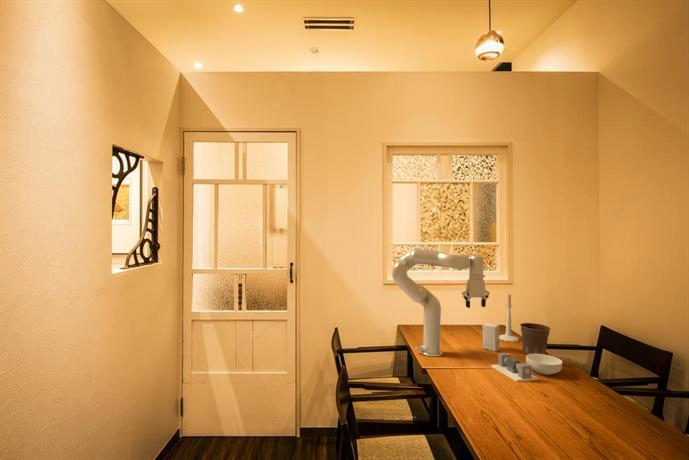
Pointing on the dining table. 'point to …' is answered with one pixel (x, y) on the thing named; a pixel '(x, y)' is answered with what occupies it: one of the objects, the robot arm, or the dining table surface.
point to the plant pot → (534, 338)
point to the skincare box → (491, 337)
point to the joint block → (513, 364)
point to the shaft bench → (523, 369)
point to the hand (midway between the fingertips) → (475, 307)
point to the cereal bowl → (544, 363)
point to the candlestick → (508, 325)
